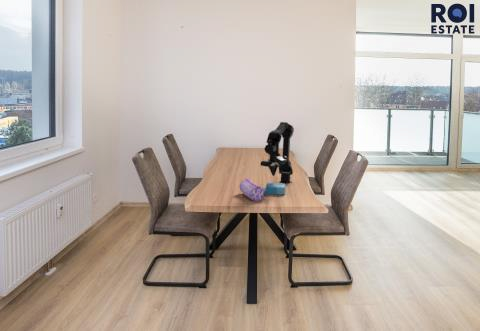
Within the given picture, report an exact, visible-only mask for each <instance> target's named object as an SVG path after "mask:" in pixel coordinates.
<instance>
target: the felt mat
mask: <svg viewBox="0 0 480 331" xmlns="http://www.w3.org/2000/svg"><path fill="white" fill-rule="evenodd" d="M261 188H262V189H263V191H264V193H266V187H261ZM271 195H273V194H265V196H271Z"/></svg>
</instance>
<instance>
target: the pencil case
mask: <svg viewBox="0 0 480 331" xmlns="http://www.w3.org/2000/svg"><path fill="white" fill-rule="evenodd" d="M238 187H239V190H240V192H241V193H242V194H243V195H245V196H246V197H247V198H248V199H250V200H251V201H253V202H260V201H262V200H263V199H264V197H265V196H266V195H265V194H266V193H264V191H263V189H262V188H263V187H262V186H260V185H256V184H254V183H253V182H252V181H251V180H250V179H249V178H247V177H246V178H244V179H242V180H241V181H240V184H239V186H238Z"/></svg>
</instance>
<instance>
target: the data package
mask: <svg viewBox="0 0 480 331" xmlns="http://www.w3.org/2000/svg"><path fill="white" fill-rule="evenodd" d="M265 188H266V194H272V195H278V196H279V195H282V196H283V195H286V183H281V182H277V183H274V182H266V185H265Z"/></svg>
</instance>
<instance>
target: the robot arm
mask: <svg viewBox="0 0 480 331" xmlns="http://www.w3.org/2000/svg"><path fill="white" fill-rule="evenodd" d="M294 129H295V128H294V126H293V125H291V124H290V123H288V122H287V121H286V122H285V121H281V122H279V124H278V126H277V127H276V128H275V129H274V130H271V131H270V132H269V133H268V135H267V138H266V143H267V144H266V145H265V147H264V151H265V153H266V154H268V155H269V159H267V160H261V161H260V166H262V167H268V169H269V170H270V173H271V175H272V176H274V177H275V175H276V172H277V169H278V174H280V181H278V183H282V184H291V183H292V181H291V176H292V175H294V174H293V173H294V171H293V167H292V163H291V160H290V150H291V148H290V146H291V138H292V137H293V135H294ZM281 140H282V156H281V153H280V143H281Z"/></svg>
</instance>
